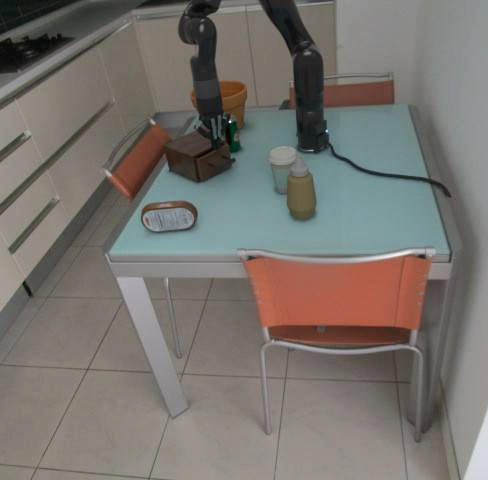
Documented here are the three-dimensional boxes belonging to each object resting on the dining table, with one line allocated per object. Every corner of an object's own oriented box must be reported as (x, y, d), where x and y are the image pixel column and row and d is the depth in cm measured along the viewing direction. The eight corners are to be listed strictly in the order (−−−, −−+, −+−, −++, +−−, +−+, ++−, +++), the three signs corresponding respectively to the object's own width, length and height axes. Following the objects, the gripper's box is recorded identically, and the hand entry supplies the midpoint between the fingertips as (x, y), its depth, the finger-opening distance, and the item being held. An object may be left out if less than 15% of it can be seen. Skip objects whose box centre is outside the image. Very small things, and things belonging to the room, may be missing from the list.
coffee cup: (303, 182, 141) (301, 146, 134) (295, 197, 134) (292, 159, 127) (276, 180, 143) (273, 144, 136) (267, 194, 137) (263, 157, 130)
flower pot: (188, 138, 176) (180, 99, 167) (209, 116, 192) (202, 80, 183) (241, 139, 170) (235, 100, 161) (257, 117, 186) (253, 79, 177)
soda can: (238, 153, 161) (234, 120, 154) (225, 153, 162) (219, 120, 155) (242, 146, 165) (238, 114, 158) (228, 146, 166) (223, 114, 159)
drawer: (243, 169, 149) (240, 148, 145) (214, 186, 142) (210, 164, 138) (205, 155, 160) (201, 135, 156) (176, 170, 153) (171, 149, 149)
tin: (200, 223, 128) (194, 197, 123) (199, 230, 125) (193, 203, 120) (146, 228, 128) (138, 202, 123) (144, 235, 126) (135, 209, 121)
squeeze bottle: (297, 226, 123) (292, 165, 112) (282, 212, 128) (276, 153, 118) (323, 216, 125) (321, 155, 114) (307, 203, 131) (304, 144, 120)
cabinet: (229, 165, 154) (225, 139, 149) (197, 182, 147) (192, 156, 141) (200, 154, 163) (195, 130, 157) (169, 170, 155) (163, 145, 150)
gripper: (198, 102, 126) (208, 160, 137) (233, 88, 134) (241, 143, 144) (181, 97, 131) (192, 154, 141) (216, 83, 138) (224, 138, 148)
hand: (217, 148), depth 142 cm, fingers closed
